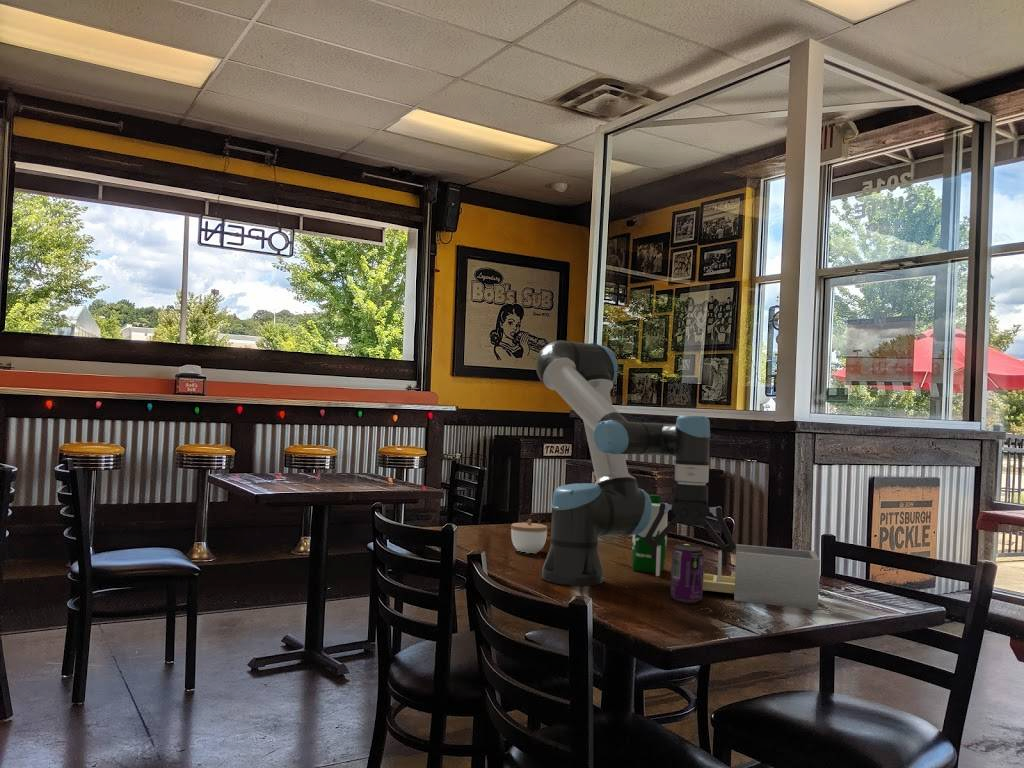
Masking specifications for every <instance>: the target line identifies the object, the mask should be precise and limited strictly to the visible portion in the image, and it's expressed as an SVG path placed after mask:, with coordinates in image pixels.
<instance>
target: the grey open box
mask: <svg viewBox="0 0 1024 768" xmlns="http://www.w3.org/2000/svg"><path fill="white" fill-rule="evenodd" d="M735 544H736V548H735V564H734V565H735V568H734V571H735V572H734V577H735V593H733V597H734V598H733V599H734V600H733V601H734V602H742V603H751V604H761V605H771V606H779V607H787V608H788V607H789V608H796V607H797V609H805V608H806V609H807V610H816V611H818V610H819V591H820V590H819V588H820V587H819V585H820V565H821V564H820V563H821V562H820V561H821V560H820V558H819V557H818V555H817V553H816V552H815V551H814V550H805V549H803V550H802V549H794V548H783V547H771V546H762V545H761V546H760V545H749V544H738V543H735Z"/></svg>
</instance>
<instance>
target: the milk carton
mask: <svg viewBox="0 0 1024 768" xmlns="http://www.w3.org/2000/svg"><path fill="white" fill-rule="evenodd" d="M648 495H649V496H650V499H651V503H652V514H651V519H650V520H649V524H648V526H647V527H646V528H645V530H643V531H642V532H641V533H639V534H635V535H632V540H631V541H632V546H631V555H632V557H631V558H632V560H631V561H632V564H631V565H632V571H634V572H642V573H651V574H656V560H652V558H651V557H652V546H651V545H650V544H648V543H645V542H644V538H645V537H646V535H647V533H648V531H649V529H650V528H651V526H652V524H653V522H654V520H655V519H656V517H657V515H658V513H659V507H660V504H661V503H662V502H661V495H660V494H651V493H650V494H649V493H648ZM664 503H665V502H664ZM665 504H668V503H665ZM668 513H669V512H668ZM668 513H664V516H663V518H662V520H661V521H660V523H659V525H658V527H657V529H656V530H655V532H654V534H653V536H652V539H655V538H656V537H657V536H658V535H659V534H660V533H661V532H662V531H663V530H664V529H665V528H666V527H667V526H668V518H669V517H668ZM667 541H668V534H667V535H666V536H665V537H664V538H663V539H662V540H661V541H660V542H659V543H658V545H659V546H661V565H660V573H661V572H662V571H664V569H665V563H666V562H665V561H666V556H667V555H666V554H667V543H668V542H667Z"/></svg>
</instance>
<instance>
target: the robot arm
mask: <svg viewBox="0 0 1024 768" xmlns="http://www.w3.org/2000/svg"><path fill="white" fill-rule="evenodd" d="M536 356H537V357H536V361H535V370H536V374H537V376H538V379H539V380H540V381H541V382H542V384H544V385H545V387H546V388H547V389H549V390H551V391H555V392H556V393H557V394H558V395H559V396H560V397H561V398H562V400H563V401H565V403H566V404H568V406H569V407H570V408H571V409H572V410H573V411H574V412H575V413H576V414H577V416H579V417H580V418H581V419H582V421H583V425H584V430H585V435H586V438H587V440H586V441H587V445H588V448H589V453H590V458H591V462H592V466H593V471H594V475H595V476H594V477H595V482H594V483H590V482H589V483H587V482H584V483H569V484H564V485H560V486H558V487H557V488H555V490H554V491H553V496H552V501H551V508H552V509H551V525H550V526H551V528H550V529H551V530H550V544H549V546H550V547H549V550H548V552H547V555H546V557H545V560H544V562H543V566H542V568H541V579H543V580H544V581H546V582H550V583H553V584H559V585H565V586H575V587H576V586H578V587H579V586H580V587H584V586H597V585H601V584H602V583H604V570H603V566H602V562H601V561H602V560H601V559H600V555H599V550H598V547H599V546H598V545H599V543H598V542H599V537H612V536H614V537H615V536H616V537H617V536H622V537H628V536H633V535H635V534H639V533H641V532H642V531H643V530H645V528H646V527H647V526H648V524H649V520H650V519H651V514H652V503H651V499H650V496H649V495H648V494H649V493H648V492H646V490H644V489H642V488H639V487H638V482H637V479H636V478H635V476H633V475H632V474H629V470H628V465H627V462H626V456H625V455H648V456H672V457H675V460H674V462H675V464H674V481H675V482H676V483H675V484H674V489H673V490H674V492H673V503H672V504H668V503H667V504H665V502H660V503H661V504H660V507H659V513H658V515H657V517H656V519H655V520H654V522H653V524H652V526H651V528H650V529H649V531H648V533H647V535H646V537H645V538H644V542H645V543H648V544H650V545H651V546H652V557H651V558H652V560H656V573H655V577H660V575H661V572H660V565H661V546H659V545H658V543H659V542H660V541H661V540H662V539H663V538H664V537H665V536H666V535H667V536H668V534H669V533H671V531H672V530H673V529H674V528H675V527H676V525H677V524H678V523H680V524H681V525H685V526H687V525H691V526H699V525H702V527H703V528H704V530H706V532H707V533H708V534H709V536H710V538H712V540H713V542H715V543H716V545H717V546H718V547H719V548H720V550H718V552H717V553H718V554H717V555H718V558H717V559H718V560H717V575H718V582H721V576H722V572H723V570H722V568H723V567H727V565H728V552H730V551H732V550H736V544H737V543H736V542H735V540H734V538H733V536H732V534H731V532H730V529H729V528H728V526H727V523H726V521H725V519H724V517H723V510H722V506H720V505H718V506H714V507H713V506H712V507H710V506H709V486H708V485H706V484H708V483H709V477H710V476H709V475H710V473H709V472H710V444H711V443H710V440H711V429H710V428H711V427H710V426H711V425H710V424H711V423H710V419H709V418H708V417H707V416H702V415H687V414H686V415H685V414H684V415H683V414H682V415H678V416H677V417H676V421H675V423H661V422H639V421H629V420H627V419H626V418H625V416H623V415H622V414H621V413H620V412H619V411H618V410H617V409H616V407H614V406H613V402H612V401H613V400H612V398H611V393H610V392H611V390H612V389H613V388H614V383H615V381H616V379H617V377H618V373H617V372H618V371H619V365H618V360H617V357H616V354H615V353H614V352H613V351H612V349H611V348H609V347H607V346H605V345H601V344H599V343H592V342H591V343H587V342H577V341H570V340H569V341H567V340H561V339H560V340H555V341H552V342H550V343H547V344H546V345H545V346H543V348H542V349H540V350H539V352H538V355H536ZM670 510H671V511H672V513H673V514H674V515H675V517H674V518H673V519H672V520H671V522H669V524H667V527H666V528H665V529H664V530H663V531H662V532H661V533H660V534H659V535H658V536H657V537H656V538H655V539H652V536H653V534H654V532H655V530H656V529H657V527H658V525H659V523H660V521H661V520H662V518H663V516H664V513H669V511H670ZM710 513H711V514H712V515H713V517H715V518H716V520H717V523H718V524H719V527H720V528H721V530H722V533H723V535H724V537H725V540H726V542H727V544H726V543H725V542H724V541H723V539H722V538H721V537H720V535H719V534H718V533H717V532H716V531H715V529H714V528H713V527H712V525H711V524H710V522H709V521H708V520H707V519H706V517H707V516H708V515H709V514H710Z"/></svg>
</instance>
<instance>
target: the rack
mask: <svg viewBox="0 0 1024 768" xmlns="http://www.w3.org/2000/svg"><path fill="white" fill-rule="evenodd" d="M683 545H690V544H688V543H684V544H683ZM703 591H707V592H709V591H710V592H717V593H725V594H727V593H728V594H734V593H735V576H729V575H728V576H727V575H721V582H718V574H710V573H703Z"/></svg>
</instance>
